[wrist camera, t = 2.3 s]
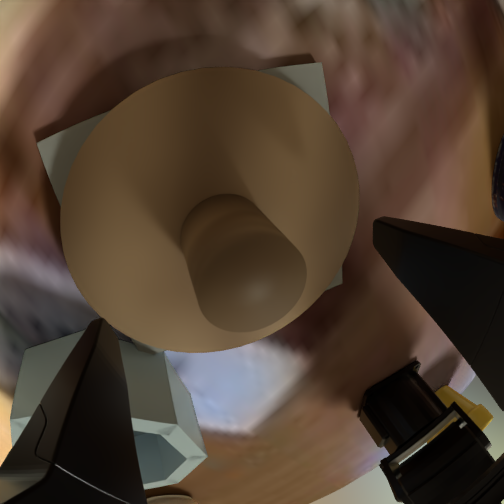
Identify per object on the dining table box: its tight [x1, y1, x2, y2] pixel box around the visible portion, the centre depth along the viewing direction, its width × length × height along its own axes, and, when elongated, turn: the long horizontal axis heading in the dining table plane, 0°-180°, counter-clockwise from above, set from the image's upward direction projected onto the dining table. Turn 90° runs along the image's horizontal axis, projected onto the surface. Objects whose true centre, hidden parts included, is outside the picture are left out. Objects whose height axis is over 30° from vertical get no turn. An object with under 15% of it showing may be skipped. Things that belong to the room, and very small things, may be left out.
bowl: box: [10, 330, 208, 489], centre depth 13 cm, size 10×10×4 cm
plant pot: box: [427, 385, 493, 444], centre depth 32 cm, size 10×10×10 cm
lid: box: [60, 67, 359, 353], centre depth 10 cm, size 12×12×4 cm
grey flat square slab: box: [37, 62, 342, 355], centre depth 12 cm, size 11×11×1 cm
